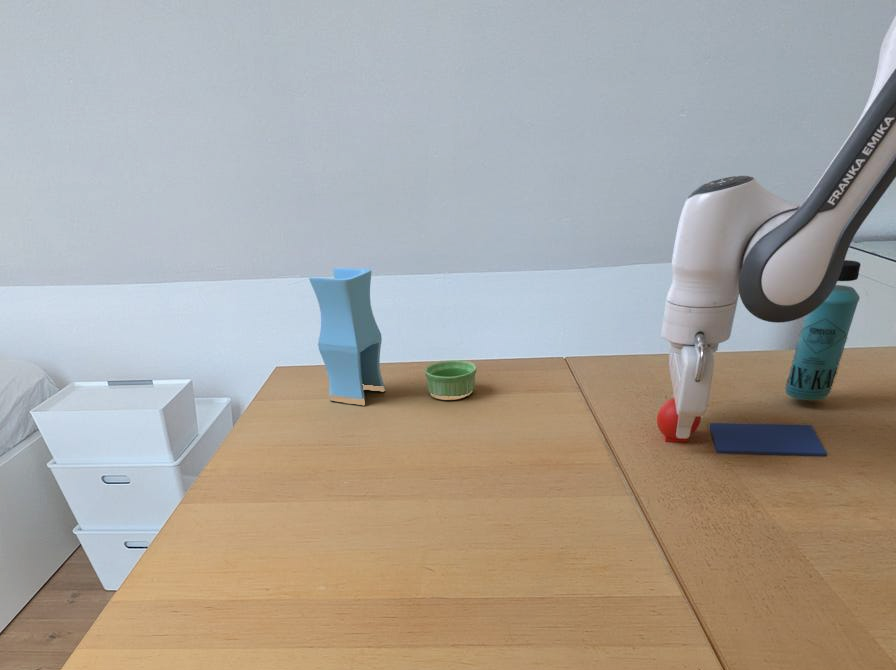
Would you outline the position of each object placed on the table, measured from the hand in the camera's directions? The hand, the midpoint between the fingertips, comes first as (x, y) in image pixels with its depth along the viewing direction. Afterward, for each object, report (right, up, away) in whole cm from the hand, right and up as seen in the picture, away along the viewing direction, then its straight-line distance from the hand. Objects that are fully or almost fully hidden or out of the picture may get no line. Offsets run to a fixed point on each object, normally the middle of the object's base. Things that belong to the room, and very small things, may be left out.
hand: (679, 423), depth 101 cm
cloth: (+12, -3, -1) cm, 12 cm away
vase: (-49, +12, +24) cm, 56 cm away
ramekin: (-32, +12, +22) cm, 41 cm away
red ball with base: (0, -2, +1) cm, 2 cm away
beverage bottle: (+23, +6, +9) cm, 25 cm away
